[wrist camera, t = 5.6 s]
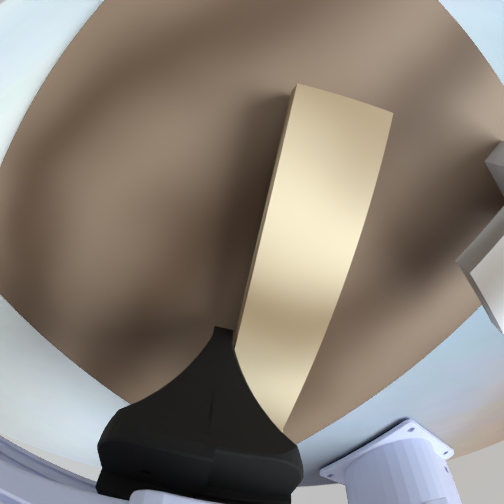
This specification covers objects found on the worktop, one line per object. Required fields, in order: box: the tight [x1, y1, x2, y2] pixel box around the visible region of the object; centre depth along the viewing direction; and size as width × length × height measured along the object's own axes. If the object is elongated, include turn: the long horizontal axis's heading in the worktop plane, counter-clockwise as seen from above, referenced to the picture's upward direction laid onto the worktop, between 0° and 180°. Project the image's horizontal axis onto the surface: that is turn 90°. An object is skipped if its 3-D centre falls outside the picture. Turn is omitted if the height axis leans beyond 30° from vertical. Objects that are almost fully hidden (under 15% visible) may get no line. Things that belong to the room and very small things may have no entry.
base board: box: [0, 0, 504, 444], centre depth 11 cm, size 22×25×5 cm
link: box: [233, 83, 393, 433], centre depth 11 cm, size 18×4×4 cm, turn 168°
